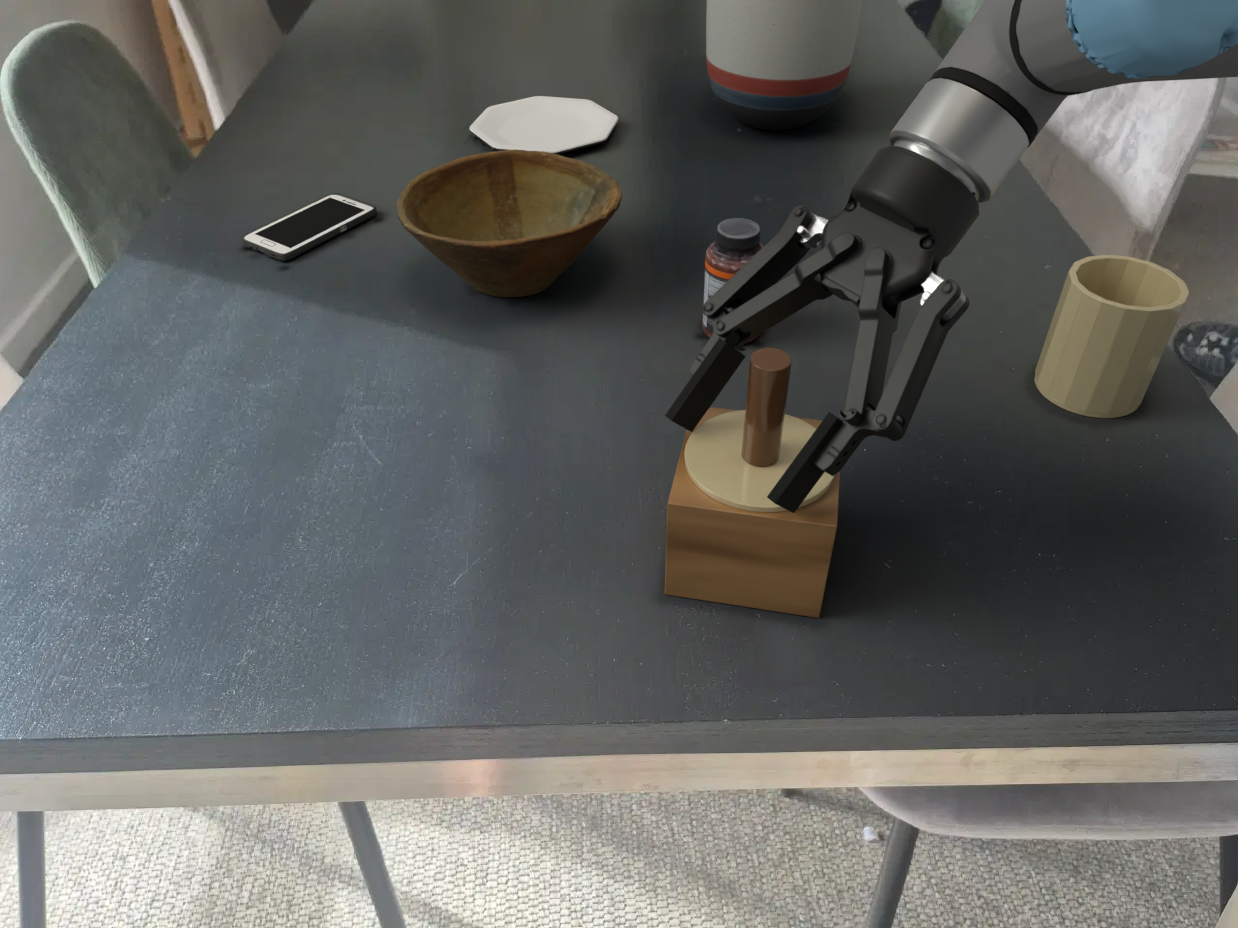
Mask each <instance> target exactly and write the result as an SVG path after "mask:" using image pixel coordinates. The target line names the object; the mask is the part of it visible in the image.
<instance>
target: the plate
mask: <svg viewBox="0 0 1238 928" xmlns="http://www.w3.org/2000/svg"><path fill="white" fill-rule="evenodd" d="M619 121H620V120H619V116H618V115H617V114H615V113H613V112H611V111H609V110H608V109H606V108H605V107H603V106H601V105H599V104H598V103H596V102H595V101H593V100H590V99H587V98H572V97H562V96H561V97H560V96H559V97H558V96H547V95H546V96H545V95H536V96H535V95H534V96H530V97H526V98H521V99H516V100H512V101H507V102H503V103H499V104H494V105H490V106H488V107H486V108H485V109H484V110H483V111H482V112H481V114H479V116H478V117H477V118H476V119H475V120H474V121H473V122H472V123H471V124H470V125H469V132H470V133H471V134H472V135H474V136H475V137H476V138H477V139H479V140H480V141H482V142H483V143H484V144H486V145H487V146H488V147H489V148H491V149H492V150H493V151H503V150H515V149H516V150H526V151H543V152H549V153H554V154H558V155H561V154H563V153H569V152H572V151H575V150H579V149H580V150H581V149H584V148H588V147H591V146H596V145H600V144H603V143H605V142H607V141H608V139H609V137H610V136H611V134H612V132H613V131H614V129H615V127H616V125H617V124H618V122H619Z"/></svg>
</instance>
